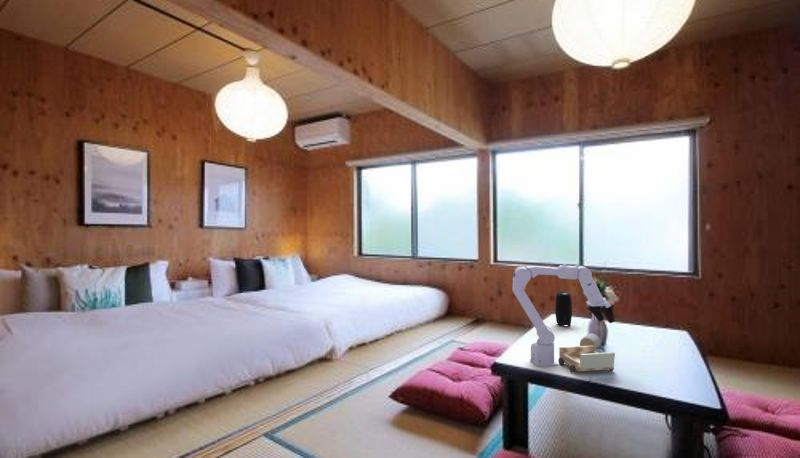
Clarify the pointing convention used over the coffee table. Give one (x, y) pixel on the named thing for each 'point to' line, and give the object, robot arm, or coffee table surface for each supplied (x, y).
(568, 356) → the wagon
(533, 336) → the coffee table surface
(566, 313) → the portable speaker
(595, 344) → the ceramic mug
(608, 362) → the tailgate
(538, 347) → the robot arm
